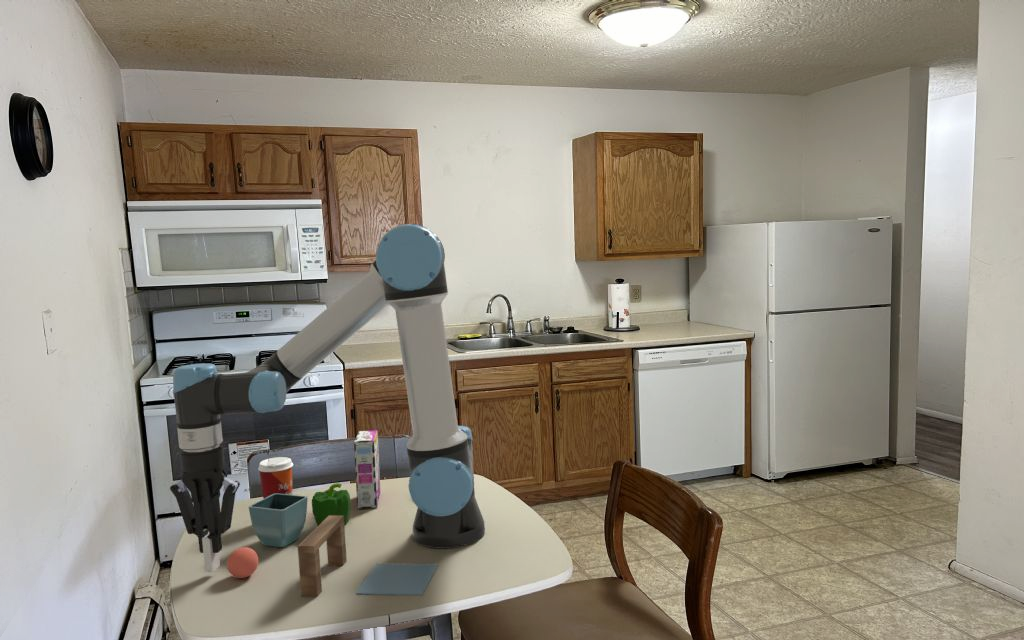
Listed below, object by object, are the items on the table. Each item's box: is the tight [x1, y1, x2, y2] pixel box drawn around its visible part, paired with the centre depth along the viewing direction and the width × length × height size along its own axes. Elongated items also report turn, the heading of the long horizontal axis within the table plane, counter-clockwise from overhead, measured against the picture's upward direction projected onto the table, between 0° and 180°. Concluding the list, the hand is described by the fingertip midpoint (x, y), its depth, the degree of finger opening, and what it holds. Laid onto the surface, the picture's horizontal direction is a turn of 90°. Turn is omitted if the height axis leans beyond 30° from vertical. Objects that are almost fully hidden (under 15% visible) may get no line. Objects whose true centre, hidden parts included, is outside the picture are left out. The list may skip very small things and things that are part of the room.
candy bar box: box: [353, 429, 381, 510], centre depth 172 cm, size 11×5×16 cm, turn 6°
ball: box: [226, 546, 259, 579], centre depth 133 cm, size 6×6×6 cm
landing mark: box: [355, 563, 438, 596], centre depth 130 cm, size 12×12×1 cm
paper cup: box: [257, 456, 294, 499], centre depth 161 cm, size 8×8×14 cm
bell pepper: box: [311, 482, 352, 527], centre depth 156 cm, size 8×8×10 cm
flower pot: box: [248, 493, 309, 548], centre depth 149 cm, size 9×9×9 cm
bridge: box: [297, 516, 347, 598], centre depth 131 cm, size 3×14×9 cm, turn 173°
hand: (212, 568), depth 134 cm, fingers closed
